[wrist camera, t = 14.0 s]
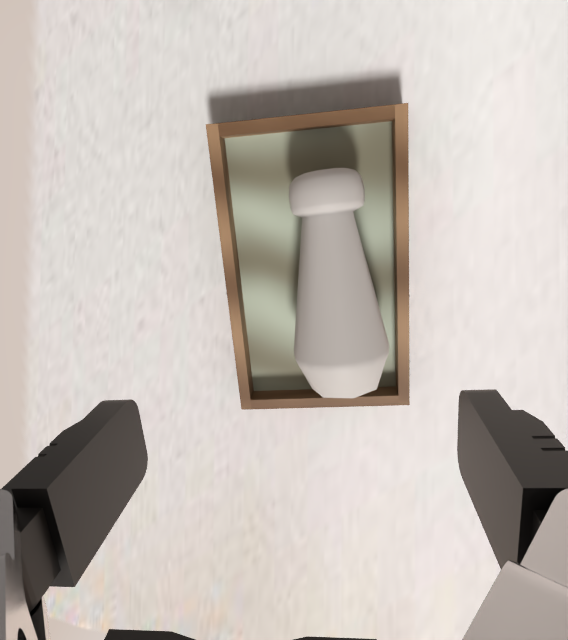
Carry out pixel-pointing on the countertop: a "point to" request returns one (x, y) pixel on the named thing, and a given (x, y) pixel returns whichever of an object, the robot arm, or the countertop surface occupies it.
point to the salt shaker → (335, 288)
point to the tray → (285, 238)
